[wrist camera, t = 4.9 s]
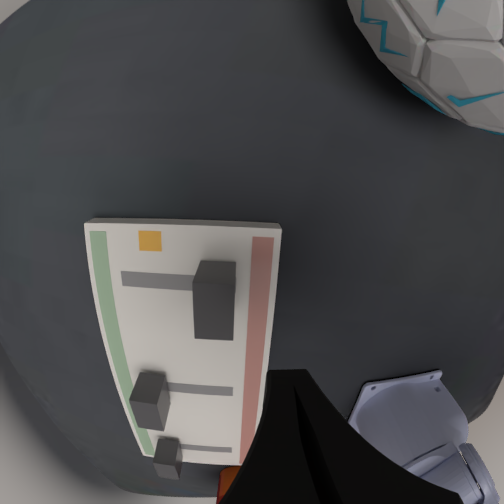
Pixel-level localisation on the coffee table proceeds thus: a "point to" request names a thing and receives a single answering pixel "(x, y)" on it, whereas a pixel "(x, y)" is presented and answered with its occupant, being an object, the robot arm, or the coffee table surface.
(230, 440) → the breaker panel
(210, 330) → the block
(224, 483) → the paper cup
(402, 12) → the puzzle ball
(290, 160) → the coffee table surface
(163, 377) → the breaker
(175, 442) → the block
